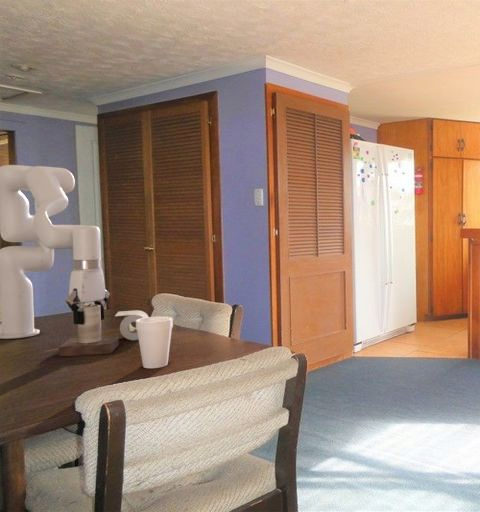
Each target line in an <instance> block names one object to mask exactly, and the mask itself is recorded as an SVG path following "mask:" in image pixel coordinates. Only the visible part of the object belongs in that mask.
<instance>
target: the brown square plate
mask: <svg viewBox="0 0 480 512" xmlns="http://www.w3.org/2000/svg"><path fill="white" fill-rule="evenodd" d="M101 339H102V340H101V341H98V342H93V343H79V342H78V337H70V338H69V339H67V340H66V341H64V342H63V343H62V344H60V345H59V346H58V357H75V356H91V355H108V354H112V353H113V351H115V349H116V348H117V347H118V346H119V344H120V343H119V342H120V339H119V335H110V336H101Z"/></svg>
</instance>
